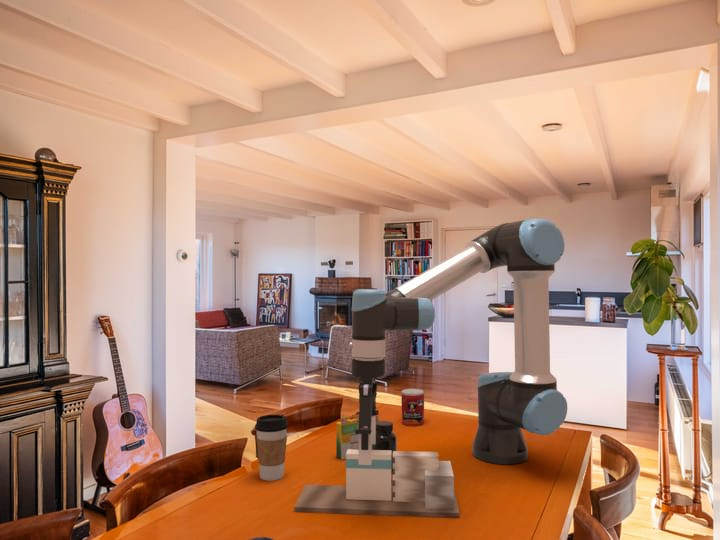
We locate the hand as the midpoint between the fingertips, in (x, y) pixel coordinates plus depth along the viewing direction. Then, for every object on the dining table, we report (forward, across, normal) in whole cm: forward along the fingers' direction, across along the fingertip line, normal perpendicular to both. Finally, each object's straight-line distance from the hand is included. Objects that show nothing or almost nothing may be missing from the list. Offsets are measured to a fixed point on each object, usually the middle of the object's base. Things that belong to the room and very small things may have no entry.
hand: (367, 453), depth 115 cm
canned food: (+10, -63, +11) cm, 65 cm away
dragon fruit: (+11, -48, -5) cm, 50 cm away
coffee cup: (+11, -13, -25) cm, 31 cm away
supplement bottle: (+11, -20, +3) cm, 23 cm away
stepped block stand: (+11, 0, +2) cm, 11 cm away
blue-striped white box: (+10, 0, 0) cm, 10 cm away
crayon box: (+11, -29, -7) cm, 32 cm away
